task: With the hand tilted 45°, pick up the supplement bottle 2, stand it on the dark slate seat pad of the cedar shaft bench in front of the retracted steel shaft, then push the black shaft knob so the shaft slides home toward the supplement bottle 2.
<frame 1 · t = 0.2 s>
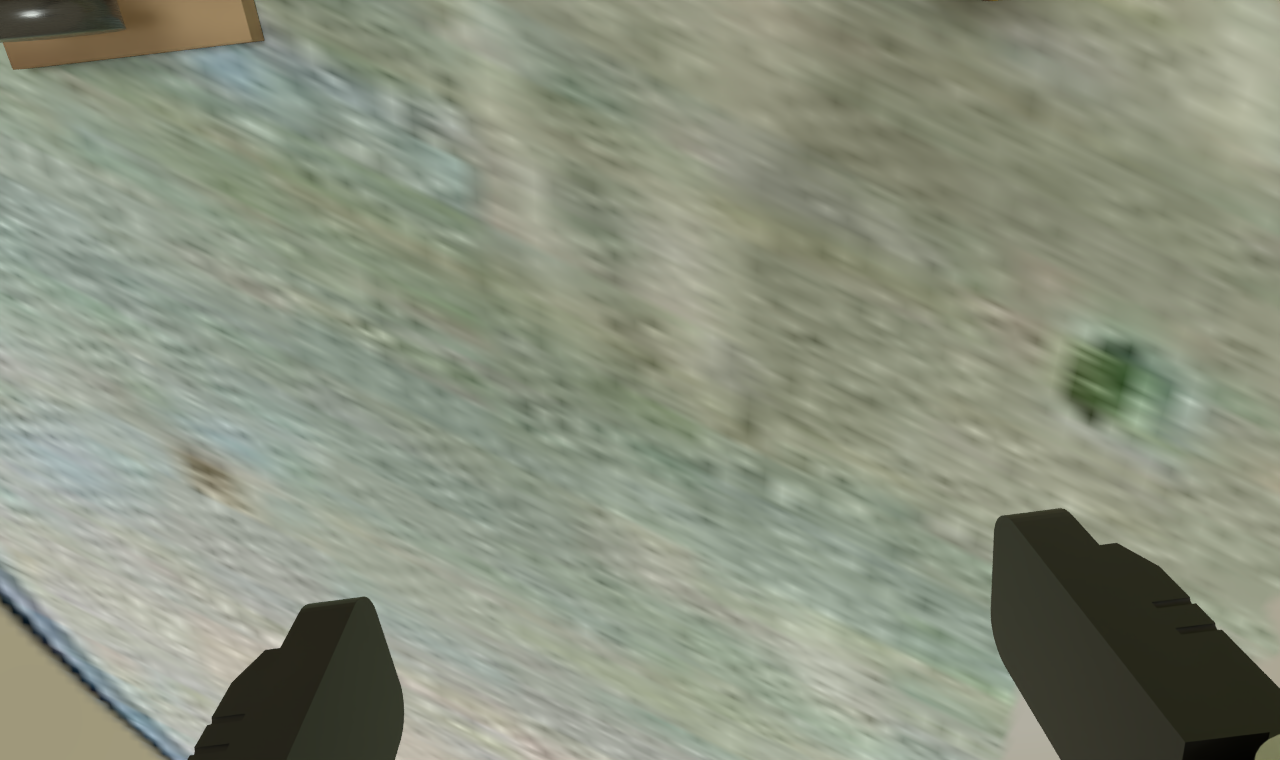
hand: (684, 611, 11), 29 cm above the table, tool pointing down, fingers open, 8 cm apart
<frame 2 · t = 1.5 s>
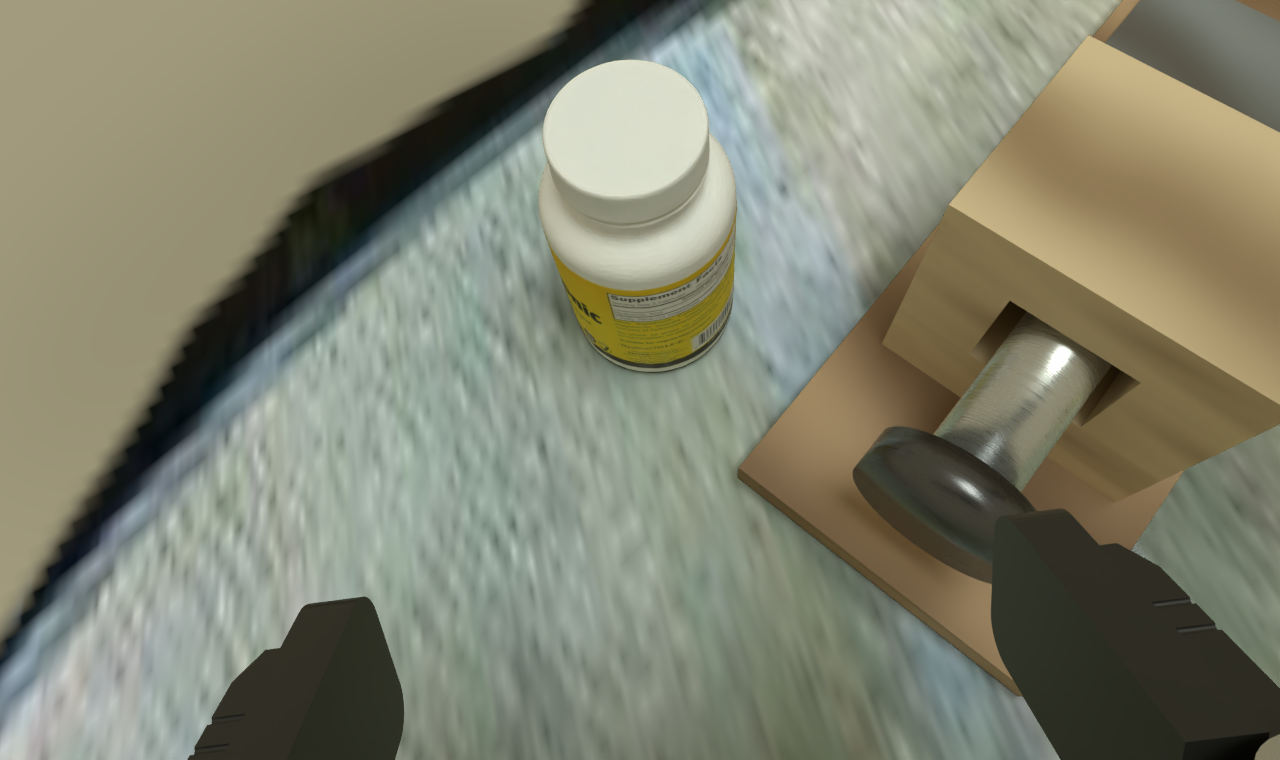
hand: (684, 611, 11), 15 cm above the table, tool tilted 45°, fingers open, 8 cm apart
shaft bench: (1097, 275, 28), on the table
shaft: (1070, 334, 21), point 6 cm above the table, slide at 0.0 cm
supplement bottle 2: (654, 307, 29), on the table
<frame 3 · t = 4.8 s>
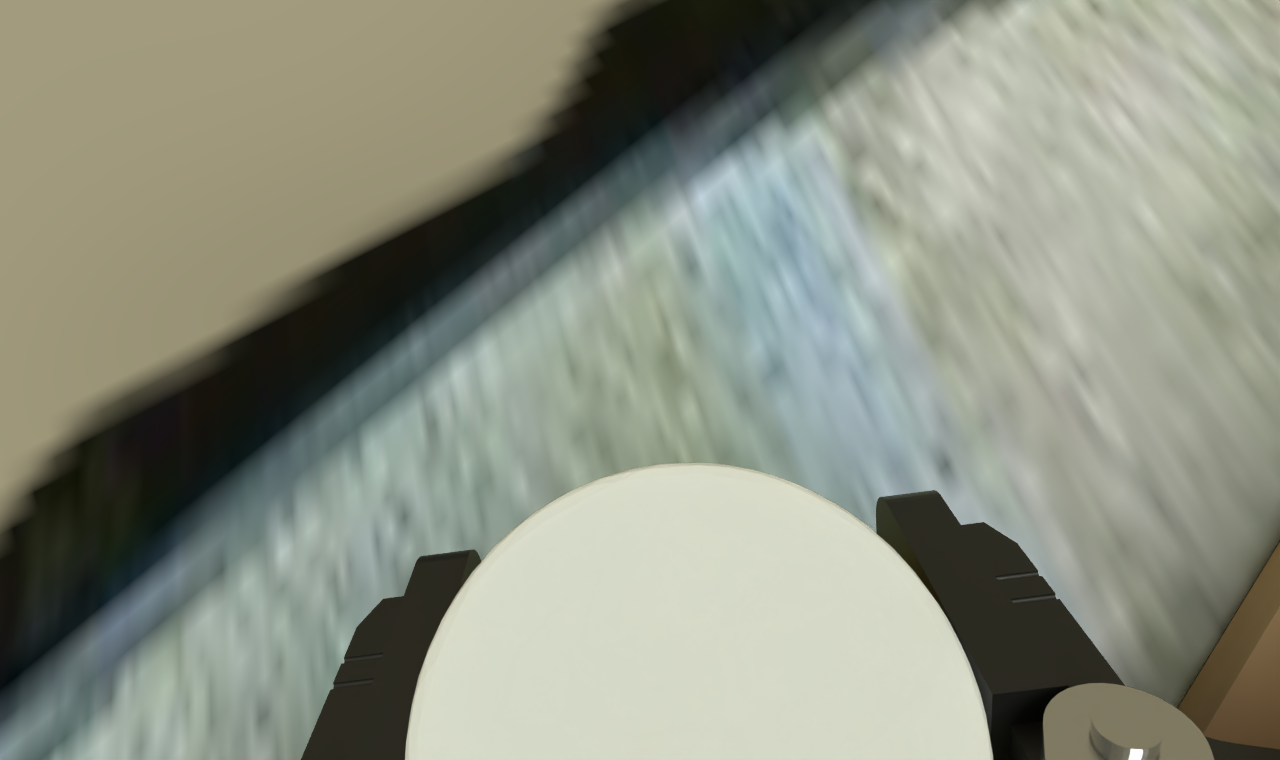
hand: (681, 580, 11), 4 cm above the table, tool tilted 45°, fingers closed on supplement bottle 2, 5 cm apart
supplement bottle 2: (704, 715, 15), on the table, touching gripper
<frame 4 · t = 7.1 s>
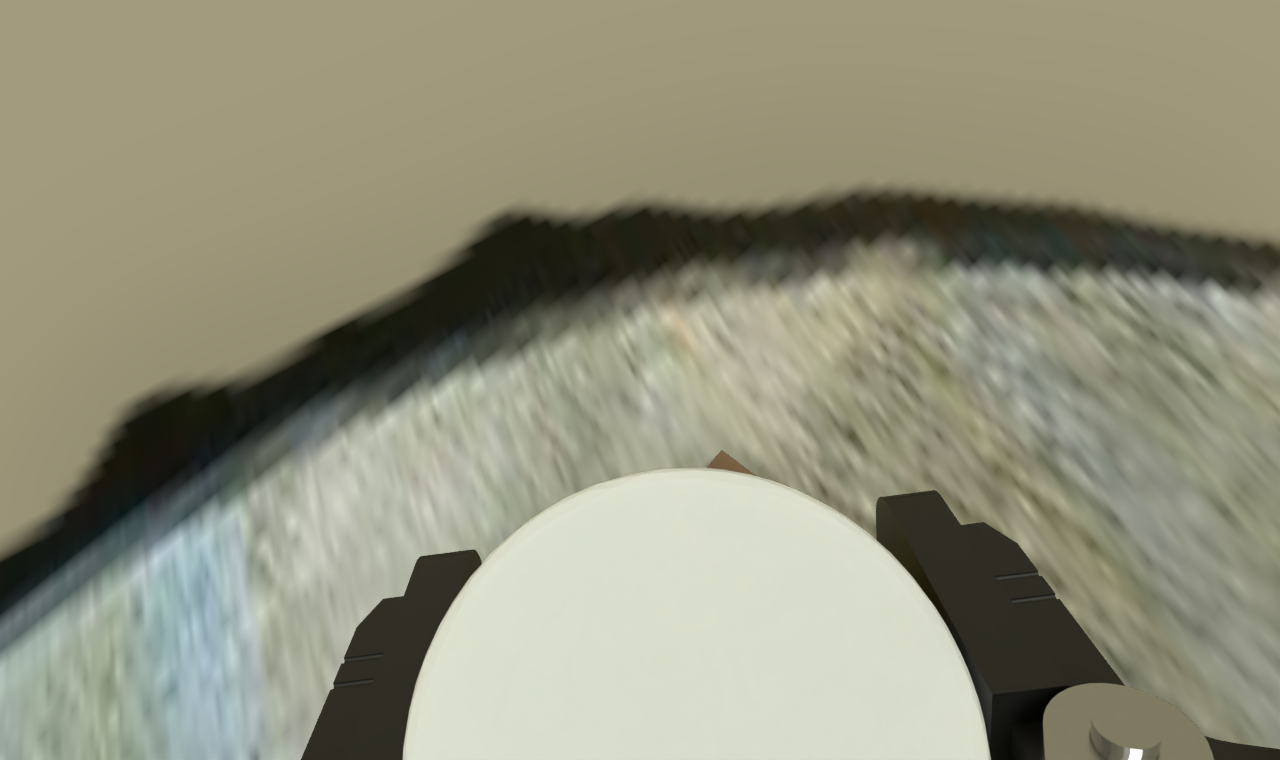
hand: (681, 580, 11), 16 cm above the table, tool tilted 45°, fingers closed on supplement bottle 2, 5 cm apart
supplement bottle 2: (703, 717, 15), point 11 cm above the table, touching gripper
when the fingers open (6 cm above the table, at t = 9.6 s): supplement bottle 2 stays where it is, resting on shaft bench.
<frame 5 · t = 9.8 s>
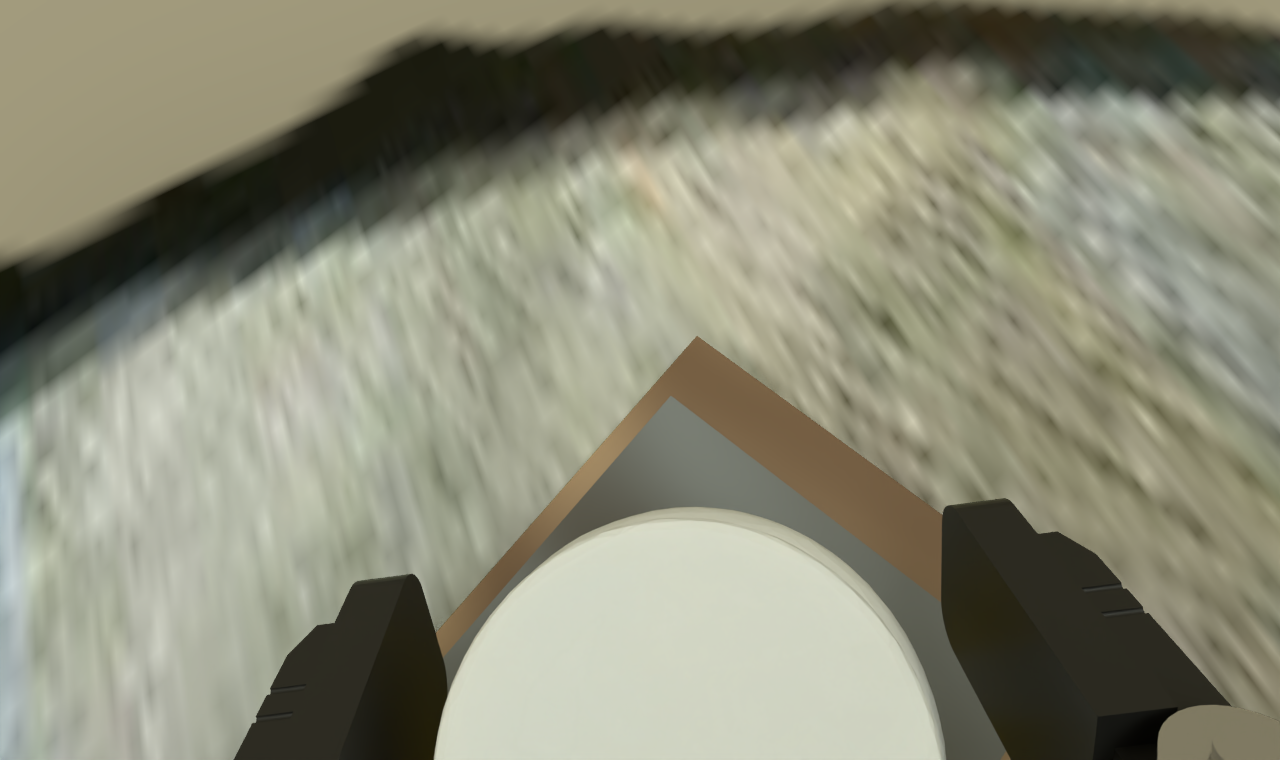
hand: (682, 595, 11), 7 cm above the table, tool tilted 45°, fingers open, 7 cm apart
supplement bottle 2: (700, 727, 16), point 1 cm above the table, touching shaft bench
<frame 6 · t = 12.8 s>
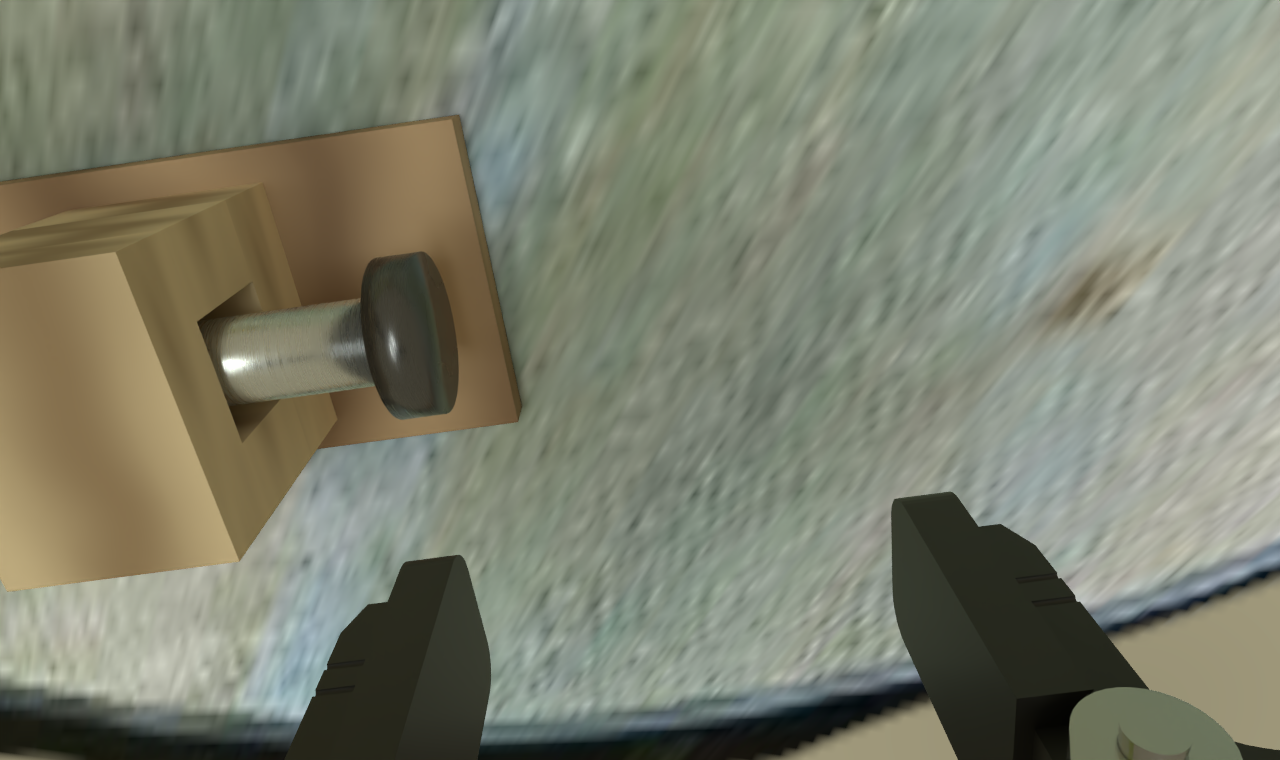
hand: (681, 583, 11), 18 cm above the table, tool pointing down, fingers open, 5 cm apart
shaft bench: (110, 325, 28), on the table
shaft: (206, 364, 23), point 5 cm above the table, slide at 0.0 cm
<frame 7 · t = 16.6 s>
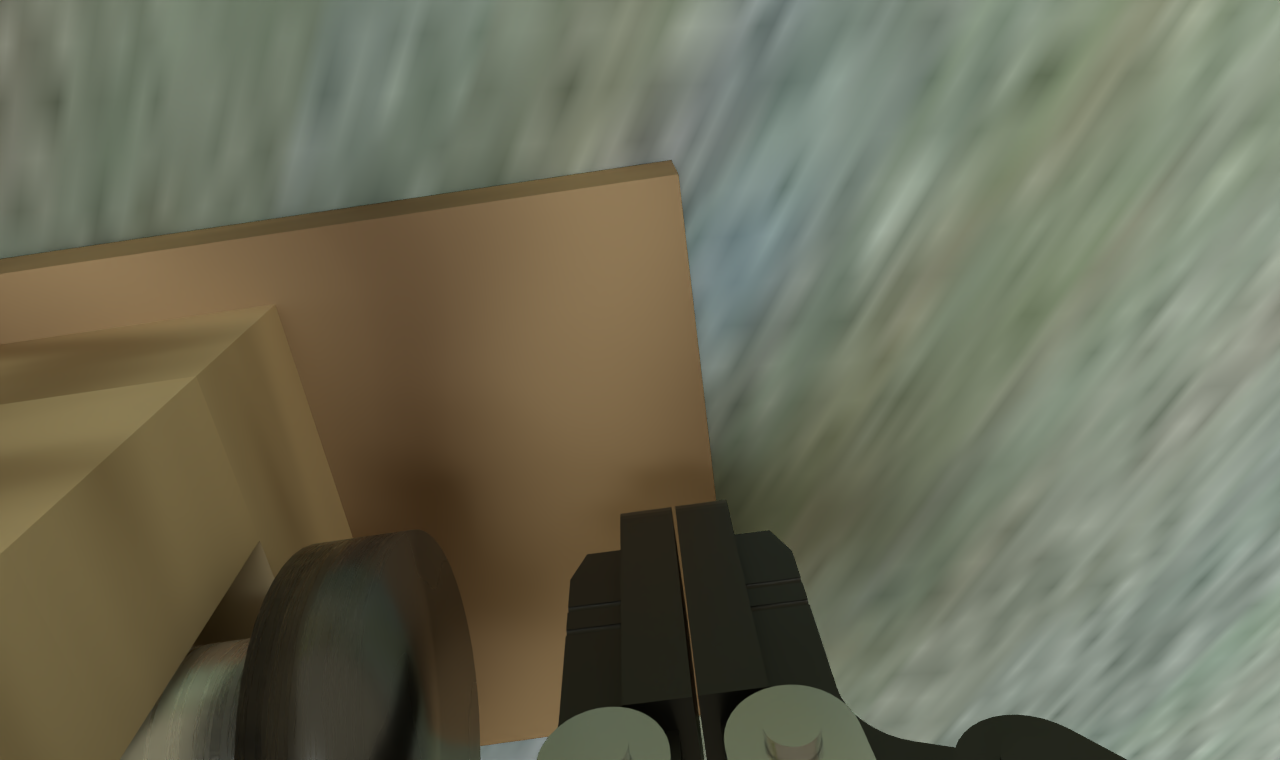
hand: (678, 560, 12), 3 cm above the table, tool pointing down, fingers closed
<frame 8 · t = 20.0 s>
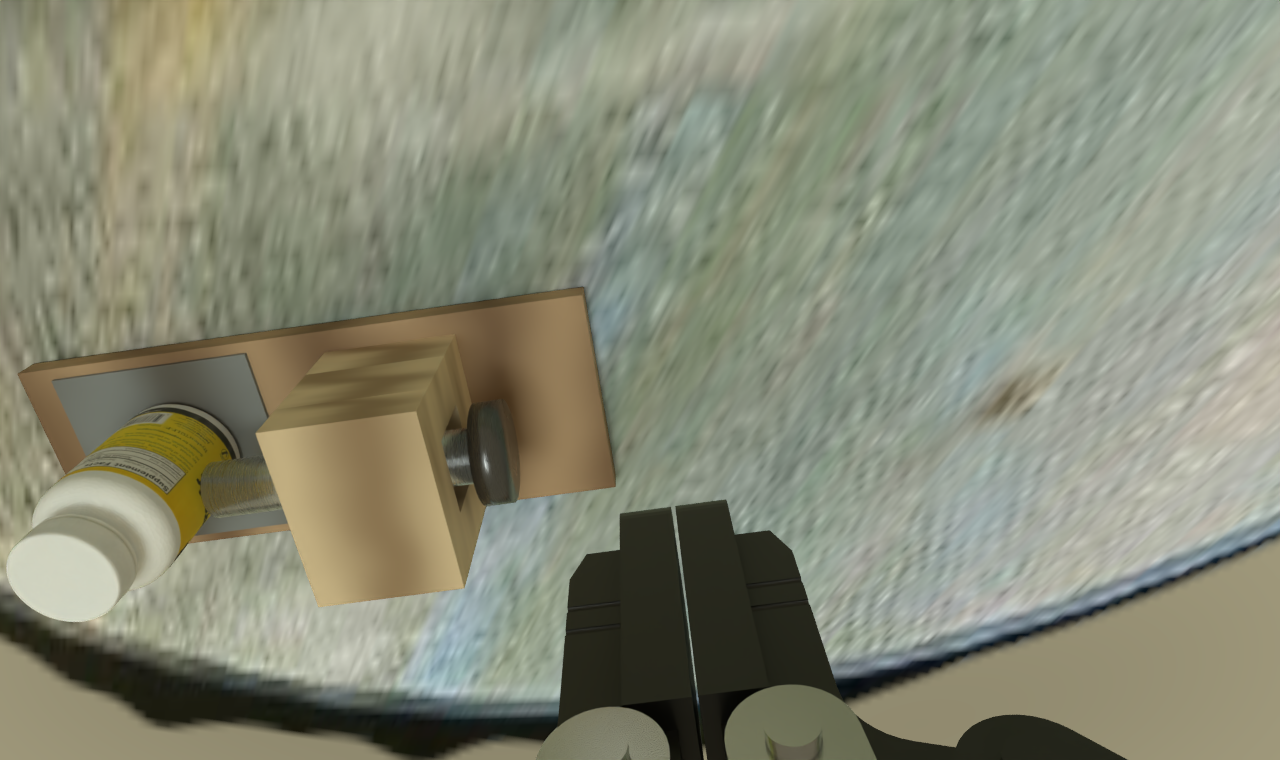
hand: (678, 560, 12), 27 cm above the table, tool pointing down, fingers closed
shaft bench: (336, 421, 41), on the table
shaft: (361, 470, 35), point 6 cm above the table, slide at 3.0 cm
supplement bottle 2: (188, 449, 40), point 1 cm above the table, touching shaft bench
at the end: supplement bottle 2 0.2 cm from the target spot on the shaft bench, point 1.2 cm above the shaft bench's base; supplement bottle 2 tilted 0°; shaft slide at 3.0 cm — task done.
